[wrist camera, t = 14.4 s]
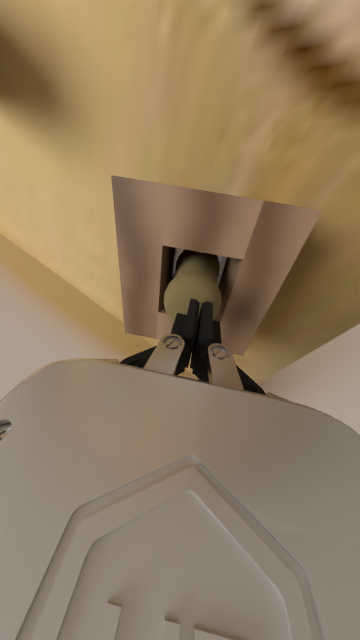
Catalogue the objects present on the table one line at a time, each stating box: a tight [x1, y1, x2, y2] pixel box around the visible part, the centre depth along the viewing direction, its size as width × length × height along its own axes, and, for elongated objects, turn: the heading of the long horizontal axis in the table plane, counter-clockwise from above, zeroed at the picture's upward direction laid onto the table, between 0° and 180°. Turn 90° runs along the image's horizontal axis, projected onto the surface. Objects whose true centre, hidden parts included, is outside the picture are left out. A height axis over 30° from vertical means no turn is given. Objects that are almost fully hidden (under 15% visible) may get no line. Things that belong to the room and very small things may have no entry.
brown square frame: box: [111, 175, 322, 356], centre depth 20 cm, size 16×16×8 cm
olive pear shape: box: [164, 249, 222, 321], centre depth 18 cm, size 6×6×11 cm
